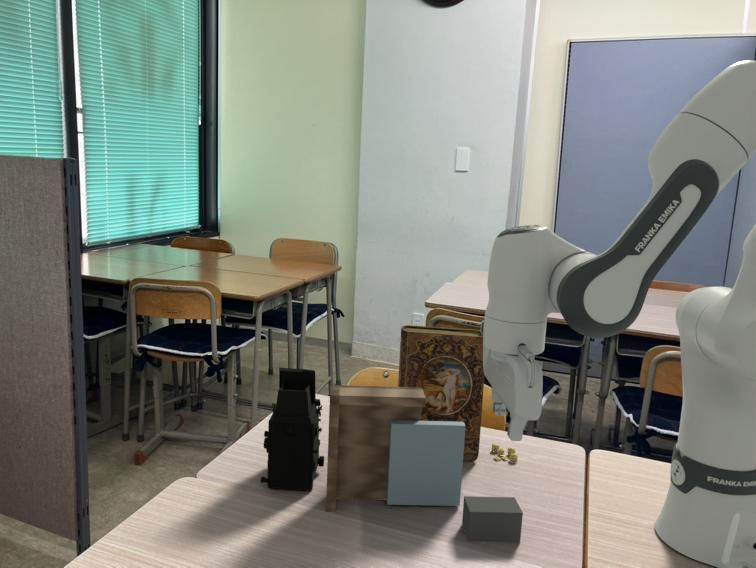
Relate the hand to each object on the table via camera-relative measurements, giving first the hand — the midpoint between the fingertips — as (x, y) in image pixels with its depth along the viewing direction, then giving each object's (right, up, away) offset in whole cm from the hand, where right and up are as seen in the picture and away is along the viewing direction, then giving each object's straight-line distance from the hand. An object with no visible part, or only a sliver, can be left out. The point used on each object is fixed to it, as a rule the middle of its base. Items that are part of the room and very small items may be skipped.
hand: (506, 425), depth 90 cm
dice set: (+6, -14, +30) cm, 33 cm away
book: (-8, -13, +30) cm, 33 cm away
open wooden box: (-20, -15, +9) cm, 27 cm away
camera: (-34, -13, +19) cm, 41 cm away
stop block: (-2, -17, +2) cm, 18 cm away
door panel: (-12, -16, +10) cm, 22 cm away
